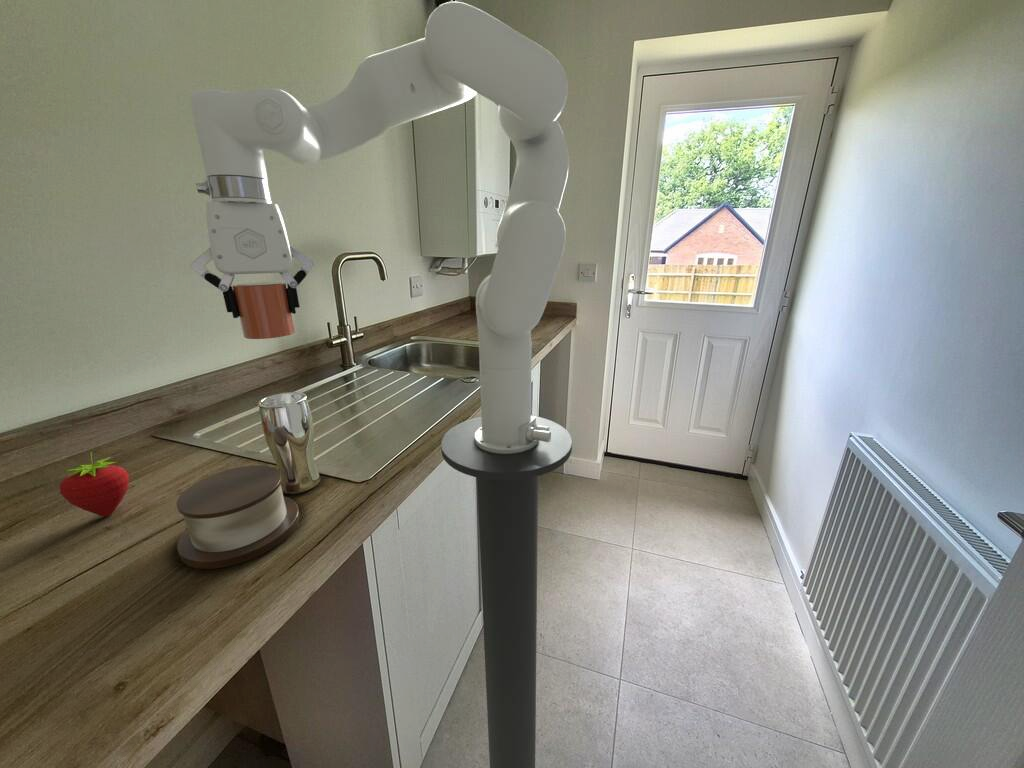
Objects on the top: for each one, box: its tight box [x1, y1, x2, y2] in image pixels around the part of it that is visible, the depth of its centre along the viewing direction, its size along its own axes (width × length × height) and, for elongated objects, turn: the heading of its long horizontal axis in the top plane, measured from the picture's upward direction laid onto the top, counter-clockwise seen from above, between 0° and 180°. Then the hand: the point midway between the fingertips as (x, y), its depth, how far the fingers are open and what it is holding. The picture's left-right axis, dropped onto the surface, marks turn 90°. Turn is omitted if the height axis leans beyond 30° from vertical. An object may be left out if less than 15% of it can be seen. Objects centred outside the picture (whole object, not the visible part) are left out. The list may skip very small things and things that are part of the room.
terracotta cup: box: [232, 281, 296, 340], centre depth 65 cm, size 7×7×8 cm
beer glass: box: [258, 391, 321, 495], centre depth 65 cm, size 7×7×15 cm
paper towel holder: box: [176, 464, 301, 570], centre depth 55 cm, size 14×14×7 cm
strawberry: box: [59, 451, 130, 518], centre depth 58 cm, size 6×8×10 cm
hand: (265, 313), depth 65 cm, fingers closed on terracotta cup, 7 cm apart
